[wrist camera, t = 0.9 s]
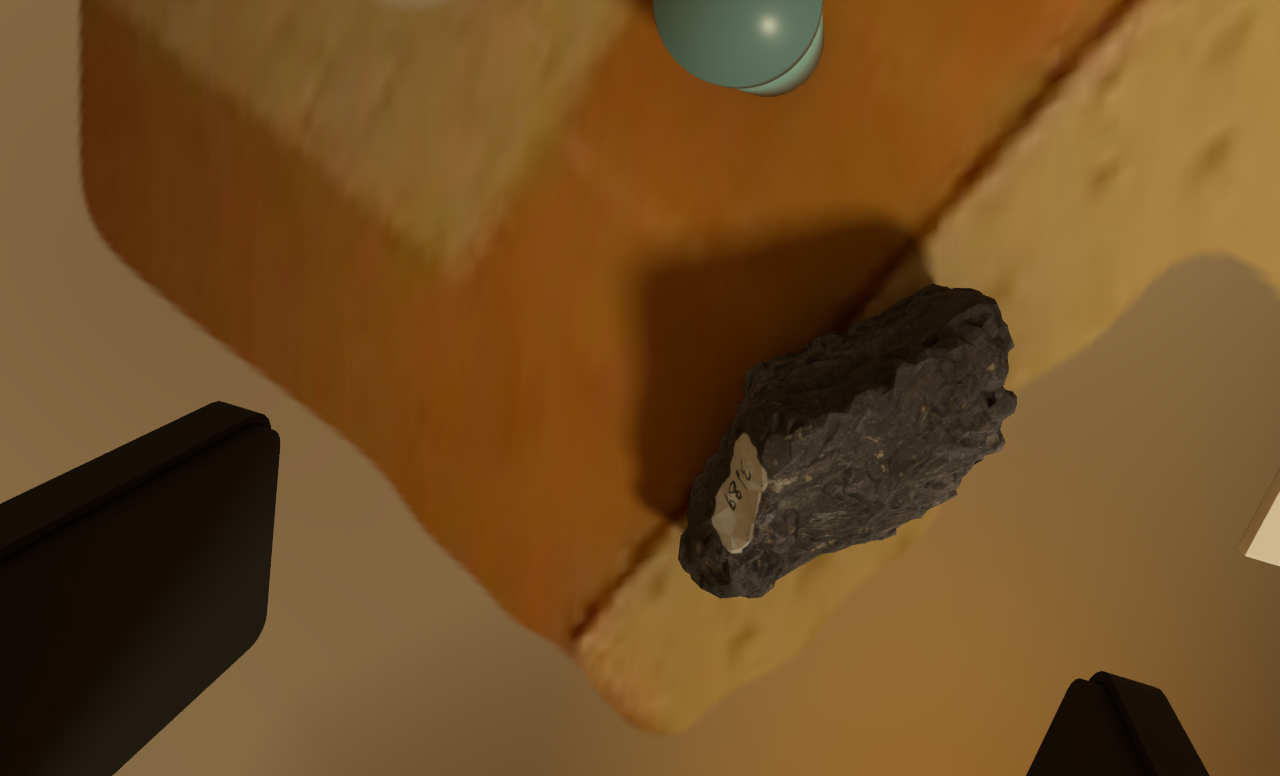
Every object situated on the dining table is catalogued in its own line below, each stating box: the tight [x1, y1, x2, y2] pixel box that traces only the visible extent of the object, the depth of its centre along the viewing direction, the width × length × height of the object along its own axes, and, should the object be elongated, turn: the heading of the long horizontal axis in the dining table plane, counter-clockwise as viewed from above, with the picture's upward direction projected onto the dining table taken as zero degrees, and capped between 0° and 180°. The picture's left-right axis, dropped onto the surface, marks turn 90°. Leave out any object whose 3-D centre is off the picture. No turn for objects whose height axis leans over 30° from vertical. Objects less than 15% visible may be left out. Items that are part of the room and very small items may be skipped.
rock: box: [678, 284, 1017, 598], centre depth 29 cm, size 12×8×10 cm
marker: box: [653, 0, 824, 97], centre depth 23 cm, size 4×4×11 cm
